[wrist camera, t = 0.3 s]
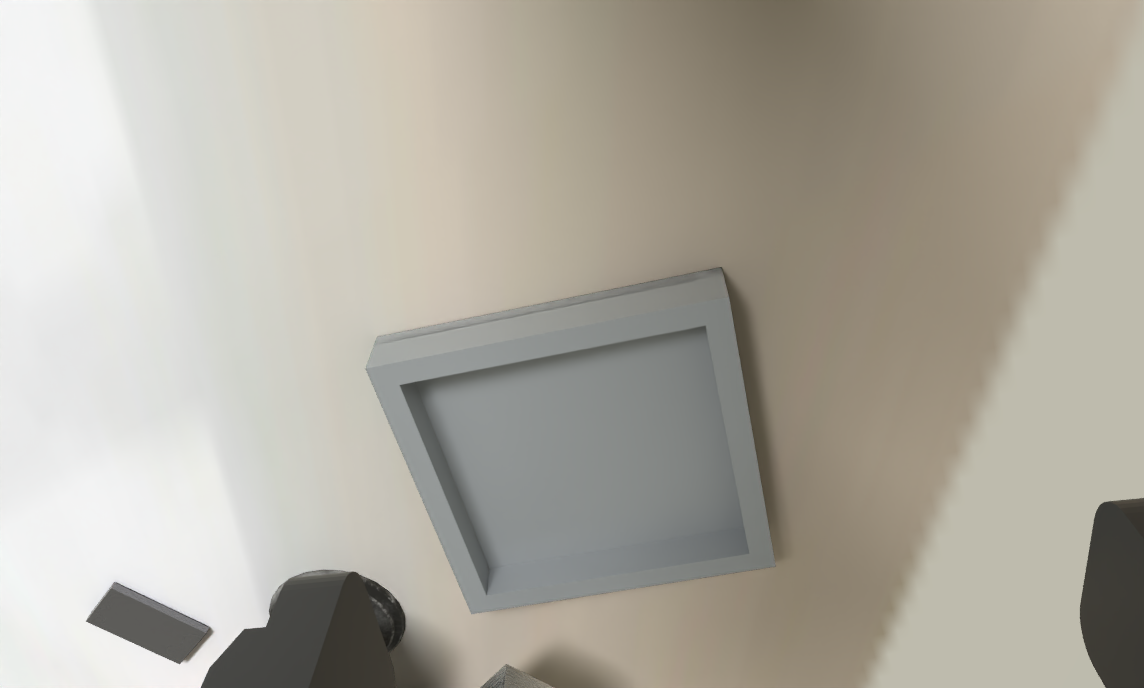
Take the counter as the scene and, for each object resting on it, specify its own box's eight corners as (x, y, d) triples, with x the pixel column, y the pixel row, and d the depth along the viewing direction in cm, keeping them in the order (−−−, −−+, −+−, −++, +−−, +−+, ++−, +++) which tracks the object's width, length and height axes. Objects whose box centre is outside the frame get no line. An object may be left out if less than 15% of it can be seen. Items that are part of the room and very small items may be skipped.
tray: (377, 337, 30) (365, 368, 28) (721, 267, 28) (728, 296, 27) (476, 576, 35) (471, 614, 34) (767, 529, 34) (775, 566, 32)
